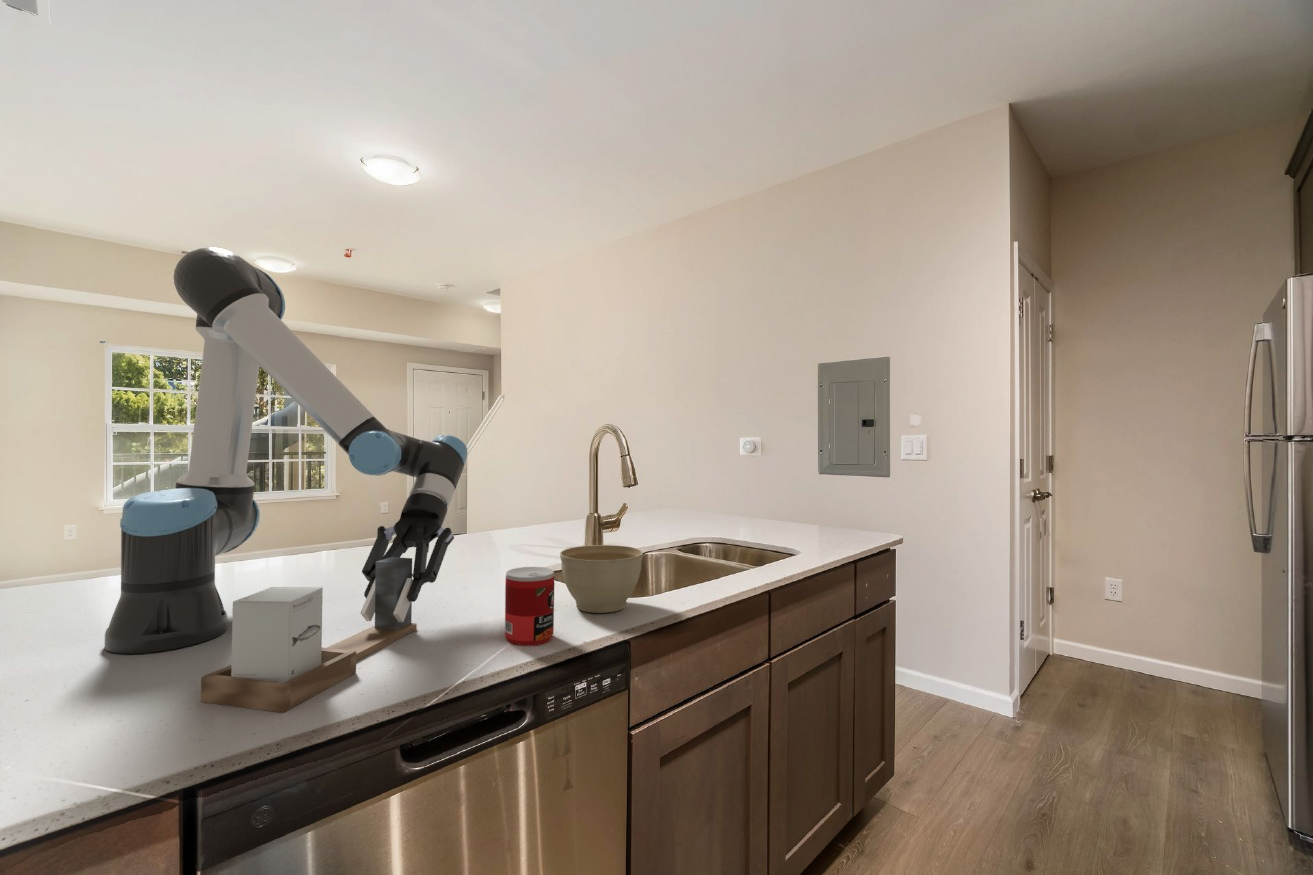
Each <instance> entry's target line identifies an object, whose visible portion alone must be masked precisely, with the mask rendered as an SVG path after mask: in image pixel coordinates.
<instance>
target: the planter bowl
mask: <svg viewBox="0 0 1313 875" xmlns="http://www.w3.org/2000/svg"><path fill="white" fill-rule="evenodd" d="M559 555H560V556H559V557H560V561H561V571H562V577H563V580H564V583H565V585H566V588H567V590H568V592H569V593H570V596H571V597H572V598H573V599H574V601H575V604H576V608H577V609H578V610H580V611H582V612H585V613H590V614H592V613H597V614H603V613H604V614H605V613H613V612H617V611H620V610H623V609H624V608H625V607H626V605H627V600H628V599H629V598H630V596H631V595H632V593H633V592H634V590H635V588H636V586H637V583H638V581H639V579H640V575H641V570H642V560H643V557H644V552H643V550H642V549H640V548H637V547H632V546H627V545H613V544H612V545H611V544H608V545H607V544H605V545H604V544H599V545H597V544H594V545H581V546H574V547H568V548H565V549H563V550H561V551H560V554H559Z"/></svg>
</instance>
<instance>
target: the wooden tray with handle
mask: <svg viewBox="0 0 1313 875" xmlns="http://www.w3.org/2000/svg"><path fill="white" fill-rule="evenodd" d="M411 573H412V574H413V558H412V557H390V558H387V559H383V560H380V561H377V562H376V572H375V613H374V625H372V626H371V627H368V628H367V629H364V630H363V631H360V632H357V633H356V634H353V635H351V636H349V637H347V638H345V639H342V640H340V641H338V642H336V643H334V644H332V645H329V646H328V647H322V650H321V665H319V666H317V667H315V668H313V669H311V670H309V671H307V672H305V673H303V674H301V675H299V676H297V677H295V678H293V679H291V680H289V681H287V682H285V683H279V682H271V681H263V680H254V679H246V678H238V677H231V664H230V665H228V666H225V667H223V668H220V669H217V670H216V671H212V672H210V673H207V674H205V675H203V676H201V677H200V681H201V682H200V702H201V703H208V704H214V705H215V704H216V705H224V706H230V707H236V708H237V707H238V708H246V709H253V710H260V711H268V712H276V713H281V714H283V713H285V712H287V711H289V710H291V709H293V708H294V707H296V706H298V705H300V704H302V703H304V702H306V701H308V700H309V699H311V698H312V697H315V696H317V695H318V694H320V693H321V692H324V691H326V690H327V689H329V688H331V687H333V686H335V685H336V684H338V683H340V682H342V681H344V680H345V679H348V678H349V677H352V676H353V675H355V674H356V673H357V661H359V660H361V659H362V658H364V657H366V656H368V655H370V654H372V653H374V652H376V651H378V650H379V649H381V648H383V647H385V646H387V645H390V644H391V643H393V642H395V641H397V640H399V639H401V638H402V637H405V636H407V635H409V634H410V633H412V632H414V631H416V630H417V629H418V628H417V625H418V624H417V623H415V622H412V612H413V611H412V607H413V606H412V605H413V602H411V603H410V606H409V608H408V611H407V614H406V616H405V619H404V622H398V620H397V619H396V617H395V616H394V614H393V613H394V610H395V608H396V605H397V603H398V600H399V598H400V595H401V593H402V590H403V588H404V585H405V582H406V580H407V578H412V579H413V576H412V574H411Z"/></svg>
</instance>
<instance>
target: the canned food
mask: <svg viewBox="0 0 1313 875" xmlns="http://www.w3.org/2000/svg"><path fill="white" fill-rule="evenodd" d="M504 589H505V590H504V591H505V594H504V595H505V597H504V599H505V600H504V637H505V640H506V641H507V642H509V644H511V645H514V646H519V647H533V646H539V645H544V644H546V643H548V642H550V641H551V640H552V638H553V635H554V630H555V629H554V628H555V626H554V624H555V622H554V621H555V571H554V570H553V569H551V568H548V567H542V566H523V567H522V566H521V567H515V568H512V569H509V570H507V571H506V572H505V588H504Z"/></svg>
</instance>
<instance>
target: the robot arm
mask: <svg viewBox="0 0 1313 875" xmlns="http://www.w3.org/2000/svg"><path fill="white" fill-rule="evenodd" d="M173 271H174V272H173V283H174V284H173V285H174V286H175V290H176V292H177V294H178V295H179V297H180V298H181V300H182V301H183V302H184V303H185V304H186V306H188V307H189V308H191V310H193V311H194V312H195V313H196V322H195V331H196V333H198V334H199V335H200V336H201V338H203V340H204V343H203V352H202V360H201V368H200V375H199V376H200V377H199V384H198V390H197V391H198V393H197V400H196V408H195V418H194V425H193V431H192V432H193V433H192V440H191V441H192V442H191V451H190V455H189V456H190V457H189V465H188V471H187V472H186V473H185V474H183V475H182V476H180V477H179V478H177V479H176V481H175V482H176V483H175V488H167V489H162V490H158V491H157V490H152V491H148V492H144V493H140V494H137V495H134V496H131V497H129V499H128V500H126V501H125V502H124V504H123V506H122V513H121V518H120V521H119V522H120V523H119V527H120V530H121V531H120V532H121V533H120V534H121V535H120V542H121V543H120V548H121V549H120V597H119V599H118V601H117V604H116V606H115V609H114V611H113V614H112V617H111V619H110V622H109V625H108V627H107V628H106V629H105V632H104V649H105V650H106V651H108V652H110V653H114V654H127V655H129V654H133V655H135V654H146V653H157V652H164V651H168V650H175V649H179V648H185V647H188V646H193V645H196V644H200V643H204V642H205V641H208V640H209V641H210V640H212V639H215V638H216V637H218V636H220V635H222V634H224V633H225V632H226V631H227V630H228V613H227V611H226V610H225V608H224V604H223V601H222V599H221V596H220V593H219V591H218V589H217V586H216V582H215V581H216V557H217V556H219V555H222V554H226V553H228V552H231V551H233V550H235V549H237V548H239V547H240V546H242V545H243V544H244V543H245V542H247V541H248V540H249V539H250V538H251V537H252V536H253V535H254V533H255V531H256V530H257V529H258V525H259V523H260V516H261V515H260V514H261V513H260V509H259V508H260V507H259V505H258V502H256V500H255V499H254V494H255V486H256V485H255V482H254V481H253V480H252V479H251V478H250V477H249V476H248V474H247V471H248V463H249V456H250V454H249V453H250V445H251V438H252V431H253V423H254V412H255V405H256V397H257V389H258V381H259V371H260V368H261V369H262V370H263V371H264V372H265V373H266V374H267V375H268V376H269V377H270V378H271V379H272V380H273V381H274V382H275V383H276V384H278V386H279V387H280V388H281V389H282V390H283V391H284V392H285V393H286V394H287V395H288V396H290V398H292V399H293V400H294V402H295V403H296V404H297V405H298V406H299V407H300V408H301V409H302V410H303V411H304V412H305V413H306V414H307V415H308V416H309V417H310V418H311V419H313V421H315V423H316V424H317V425H319V427H320V428H322V430H323V431H324V432H325V433H326V434H327V435H328V436H330V437H331V439H333V441H334V442H335V443H337V445H338V446H339V447H340V448H341V449H342V450H343V451H344V452H345V454H347V455H348V459H349V462H350V464H351V466H352V467H353V468H354V469H355V470H357V472H360V473H361V474H363V475H368V476H377V477H378V476H379V477H380V476H382V475H387V474H388V473H392V472H393V473H398V474H401V475H405V476H409V477H412V478H416V479H415V481H414V483H413V485H412V487H411V489H410V492H409V494H408V497H407V499H406V501H405V504H404V505H403V508H402V510H401V513H400V517H399V519H398V521H397V522H396V523H395V524H393V526H390V527H385V526H383V525H380V526H378V527H377V531H376V532H377V537H376V539H375V541H374V543H373V545H372V548H371V550H370V552H369V555H368V557H367V559H366V560H365V563H364V565H363V567H362V570H361V573H362V574H363V576H364V577H365V579H366V580H367V581H368V584H367V586H366V589H365V591H364V594H363V596H364V598H365V601H364V604H363V605H362V608H361V610H360V615H361V616H362V617H363V618H364V620H365V621H366V622H371V621H372V619H373V618H374V616H375V572H376V562H377V561H380V560H383V559H387V558H390V557H400V558H402V555H403V554H405V553H406V552H407V551H408V549H410V548H415V555H414V563H413V569H412V573H411V574H412V578H407V580H406V582H405V585H404V588H403V590H402V593H401V595H400V598H399V600H398V603H397V605H396V608H395V610H394V613H393V614H394V616H395V617H396V619H397V620H398V622H404V619H405V616H406V614H407V611H408V608H409V606H410V603H411V602H412V603H413V602H416V601H417V599H418V598H419V594H420V592H421V589H422V588H423V587H422V586H423V585H425V584H427V583H429V584H430V583H431V584H433V583H435V582H436V580H437V578H438V575H439V572H440V568H441V567H442V563H443V561H444V559H445V555H446V552H447V551H448V547H449V545H450V544H451V543H452V542H453V540H454V539H455V536H454V534H453V531H452V530H451V528H450V527H445V528H443V527H442V526H443V525H444V524H443V523H444V521H445V519H446V516H447V513H448V509H449V507H450V505H451V502H452V499H453V497H454V495H455V491H456V488H457V486H458V483H459V480H460V478H461V476H462V473H463V471H464V468H465V464H466V461H467V457H468V451H469V450H468V447H467V445H466V443H464V441H463V440H462V439H460V438H459V437H457V436H454V435H450V434H446V435H443V434H441V435H438V436H436V437H435V438H434V439H432V441H429V440H423V439H419V438H416V437H413V436H409V435H406V434H403V433H401V432H396V431H393V430H390V429H388V428H386V426H385V425H384V424H382V422H381V421H380V420H378V419H377V418H376V417H375V416H374V414H373V413H372V412H371V411H370V410H369V409H368V408H367V406H365V405H364V404H363V403H362V402H361V400H359V399H358V398H357V397H356V396H355V395H354V393H352V392H351V391H350V390H349V389H348V388H347V386H346V385H345V384H344V383H343V382H342V381H341V380H340V379H339V378H338V377H337V376H336V375H335V374H334V373H333V372H332V371H331V370H330V369H329V368H328V367H327V366H326V365H325V364H324V363H323V362H322V360H320V359H319V357H317V355H315V354H314V352H313V351H312V350H311V349H310V348H309V347H308V346H307V345H306V344H305V343H304V342H303V341H302V340H301V339H300V338H299V337H298V336H297V334H295V333H294V331H293V330H292V329H290V328H289V327H288V325H286V324H285V323H284V321H282V319H283V317H284V315H285V310H286V300H285V297H284V294H283V292H282V290H281V288H280V287H279V285H278V283H276V282H275V281H274V279H273V278H272V277H270V275H269V274H268V273H266V272H264V271H263V270H261V269H260V268H258V267H255V266H254V265H252V264H251V263H249V261H246V260H245V259H244V258H243V257H241V256H240V255H238V254H236V253H234V252H233V251H230V250H226V249H224V248H219V247H201V248H197V249H195V250H191V251H189V252H187V253H186V254H185V255H184V256H182V257H181V258H180V259H179V261H178V262H177V264H176V266H175V268H174V270H173ZM394 535H395V537H394V538H393V536H394ZM392 538H393V540H392ZM436 538H437V539H436ZM435 539H436V541H435V544H434V547H433V550H432V552H431V554H430V557H429V560H428V563H427V558H428V553H429V549H430V543H431V542H432V541H434V540H435ZM390 542H392V544H391V545H390V547H389V548H388V546H389V543H390Z"/></svg>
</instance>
